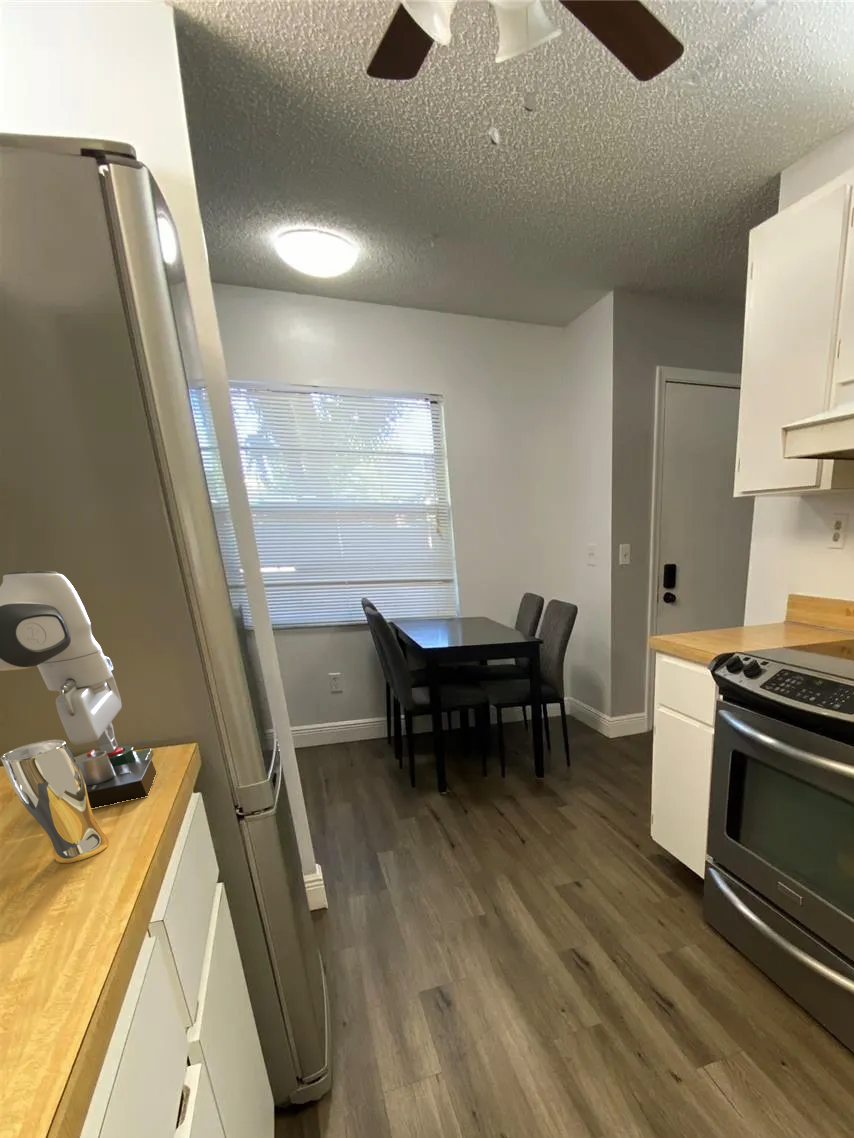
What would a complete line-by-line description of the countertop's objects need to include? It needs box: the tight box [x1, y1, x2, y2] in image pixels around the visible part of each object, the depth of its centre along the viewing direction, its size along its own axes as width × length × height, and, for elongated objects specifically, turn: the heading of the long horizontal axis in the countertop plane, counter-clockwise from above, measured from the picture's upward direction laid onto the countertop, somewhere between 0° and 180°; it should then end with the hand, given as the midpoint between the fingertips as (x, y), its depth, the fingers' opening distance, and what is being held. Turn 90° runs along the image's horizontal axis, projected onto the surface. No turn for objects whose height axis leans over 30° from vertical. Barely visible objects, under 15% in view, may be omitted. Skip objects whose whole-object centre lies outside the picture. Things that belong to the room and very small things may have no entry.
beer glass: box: [0, 739, 110, 864], centre depth 83 cm, size 7×7×15 cm
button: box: [107, 747, 123, 757], centre depth 109 cm, size 4×4×2 cm
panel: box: [86, 759, 157, 808], centre depth 102 cm, size 13×10×3 cm
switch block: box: [108, 744, 155, 767], centre depth 110 cm, size 10×8×4 cm
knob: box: [74, 749, 116, 785], centre depth 100 cm, size 4×4×4 cm
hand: (110, 750), depth 109 cm, fingers closed
